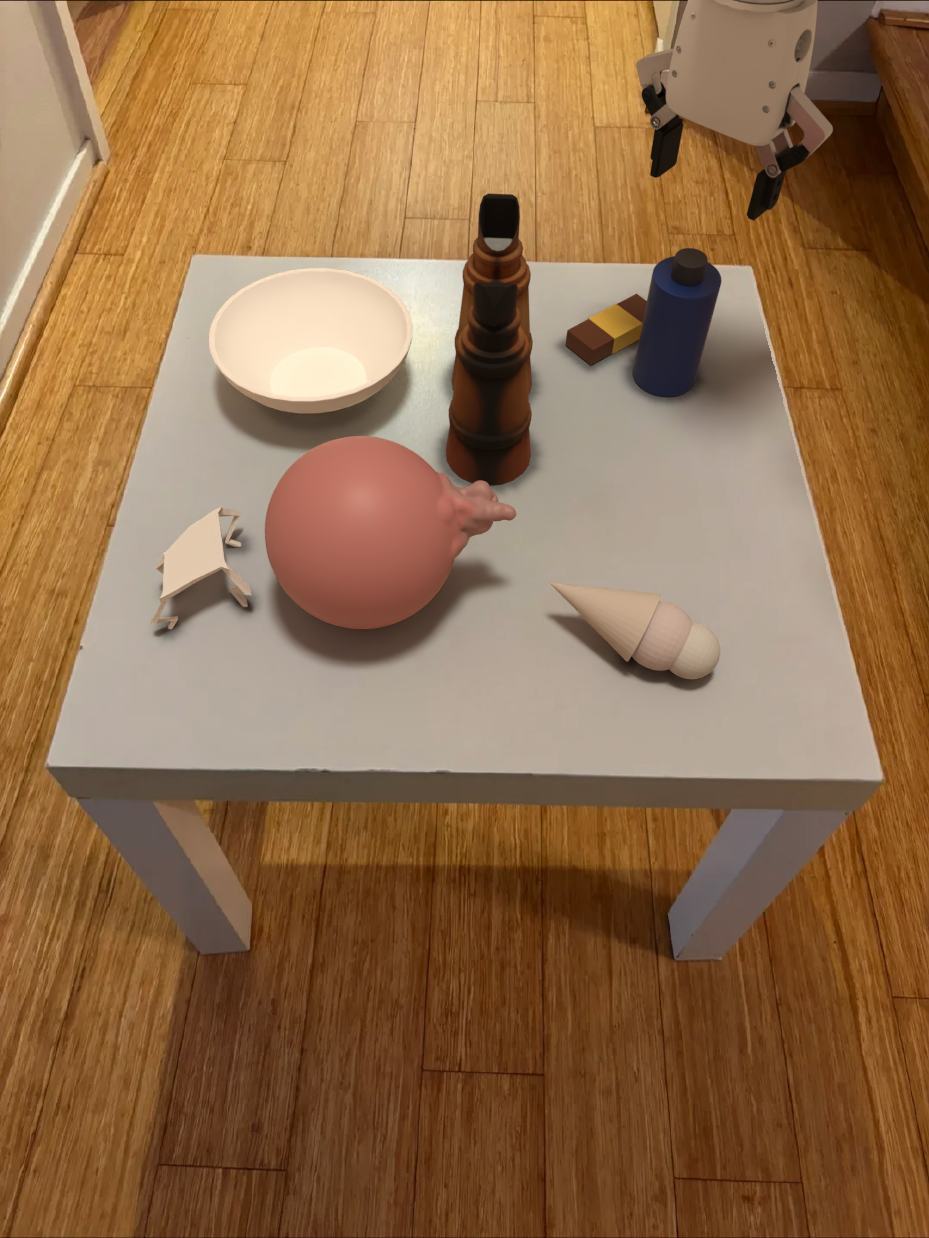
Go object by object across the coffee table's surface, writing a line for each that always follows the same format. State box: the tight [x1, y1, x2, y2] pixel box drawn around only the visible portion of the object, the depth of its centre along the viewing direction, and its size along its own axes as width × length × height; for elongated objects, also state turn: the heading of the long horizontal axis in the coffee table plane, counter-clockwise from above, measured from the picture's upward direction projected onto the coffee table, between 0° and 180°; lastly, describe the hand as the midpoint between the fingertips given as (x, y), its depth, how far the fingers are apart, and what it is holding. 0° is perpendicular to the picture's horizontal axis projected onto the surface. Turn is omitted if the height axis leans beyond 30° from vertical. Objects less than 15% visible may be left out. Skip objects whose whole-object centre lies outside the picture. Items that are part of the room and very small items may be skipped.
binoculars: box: [445, 193, 534, 486], centre depth 89 cm, size 18×8×20 cm, turn 177°
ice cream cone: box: [549, 582, 721, 680], centre depth 80 cm, size 6×6×15 cm
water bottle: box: [632, 247, 722, 398], centre depth 95 cm, size 6×6×14 cm
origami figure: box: [150, 506, 252, 630], centre depth 83 cm, size 12×8×5 cm
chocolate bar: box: [565, 293, 647, 366], centre depth 104 cm, size 10×4×2 cm, turn 128°
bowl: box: [208, 267, 414, 414], centre depth 97 cm, size 20×20×7 cm
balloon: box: [264, 435, 517, 630], centre depth 79 cm, size 15×20×15 cm
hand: (709, 191), depth 84 cm, fingers open, 9 cm apart
